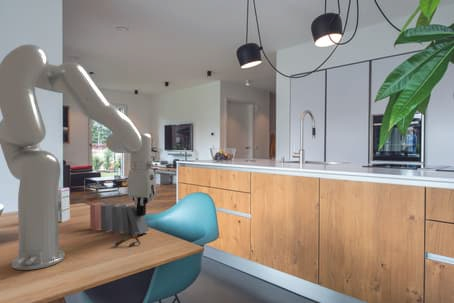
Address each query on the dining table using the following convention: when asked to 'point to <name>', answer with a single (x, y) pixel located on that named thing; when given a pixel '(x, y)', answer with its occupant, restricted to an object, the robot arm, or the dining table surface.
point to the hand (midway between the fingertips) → (141, 215)
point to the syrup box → (63, 204)
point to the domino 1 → (95, 216)
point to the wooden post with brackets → (128, 239)
